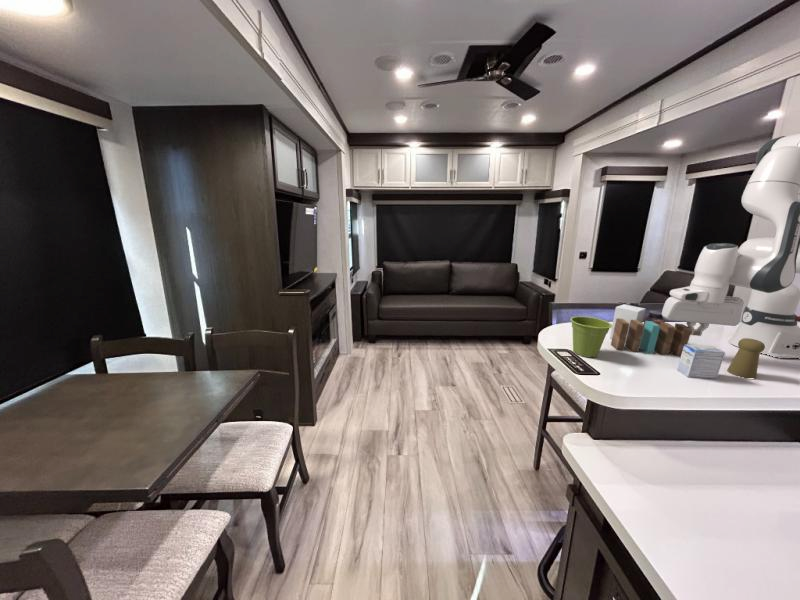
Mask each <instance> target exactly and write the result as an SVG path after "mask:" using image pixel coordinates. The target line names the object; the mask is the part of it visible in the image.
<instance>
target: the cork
mask: <svg viewBox="0 0 800 600" xmlns="http://www.w3.org/2000/svg"><path fill="white" fill-rule="evenodd" d="M738 346H739V347H738V350H737V352H736V354H735V355H734V358H733V359H732V361H731V363H730V364H729V366H728V368H727V370H726V371H727V372H728V373H729V374H731V375H733V376H736V377H738V376H740V377H739V378H742V377H744V378H743V379H747V378H757V374H758V367H759V360H760V354H761V353H760V352H762V351H763V350H764V348H765V345H764V343H762V342H761V341H758V340H755V339H749V338H743V339H741V340H740V341H739V343H738Z"/></svg>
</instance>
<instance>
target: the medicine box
mask: <svg viewBox="0 0 800 600" xmlns="http://www.w3.org/2000/svg"><path fill="white" fill-rule="evenodd" d="M725 355H726V352H725V351H724V350H722V349H719V348H718V347H715V346H714V345H702V344H699V345H698V344H687V345H684V348H683V351H682V354H681V357H679V361H678V365H677V368H676V370H677V372H678V373H681V374H682V375H683V376H685V377H687V378H699V379H700V378H701V379H717V378H718V376H719V373H720V369H721V367H722V364H723V360H724V358H725Z"/></svg>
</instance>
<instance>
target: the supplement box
mask: <svg viewBox="0 0 800 600" xmlns="http://www.w3.org/2000/svg"><path fill="white" fill-rule="evenodd" d="M646 310H647V309H646V308H644V307H640V306H639V307H638V306H634V305H631V304H630V305H629V304H625V303H623V304H621V305H617V306H615V310H614V315H613V320H612V323H611V324H612V327H611V328H610V329H611V330H610V335H609V339H611V340H612V337H613V332H614V328H615V323H616V319H617V318H618V319H624V320H625V321H627V322H628V323H630V321H631V320H638V321H640V322H641V323H643V324H644V320H645V314H646ZM629 326H630V324H629ZM628 330H629V328H628ZM627 334H628V333H627ZM626 338H627V337H626ZM625 343H626V341H625Z"/></svg>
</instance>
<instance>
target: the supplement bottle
mask: <svg viewBox="0 0 800 600" xmlns="http://www.w3.org/2000/svg"><path fill="white" fill-rule="evenodd" d="M646 321H652V322H654V323H656V324H657V325H659V326H660V322H665V323H666V319H665V318H664V317H663V316H662V311H658V310H657V311H656V310H650V311H649V314H648V316H644V319H643V324H644V325H645V322H646Z"/></svg>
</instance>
